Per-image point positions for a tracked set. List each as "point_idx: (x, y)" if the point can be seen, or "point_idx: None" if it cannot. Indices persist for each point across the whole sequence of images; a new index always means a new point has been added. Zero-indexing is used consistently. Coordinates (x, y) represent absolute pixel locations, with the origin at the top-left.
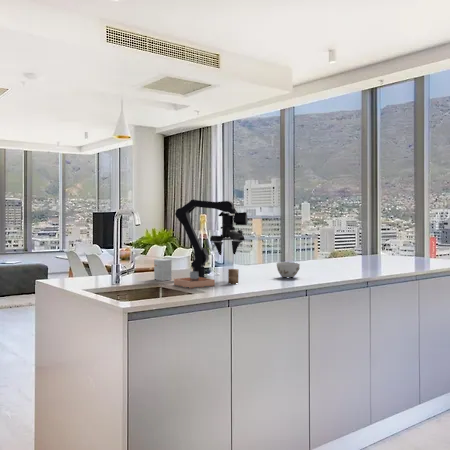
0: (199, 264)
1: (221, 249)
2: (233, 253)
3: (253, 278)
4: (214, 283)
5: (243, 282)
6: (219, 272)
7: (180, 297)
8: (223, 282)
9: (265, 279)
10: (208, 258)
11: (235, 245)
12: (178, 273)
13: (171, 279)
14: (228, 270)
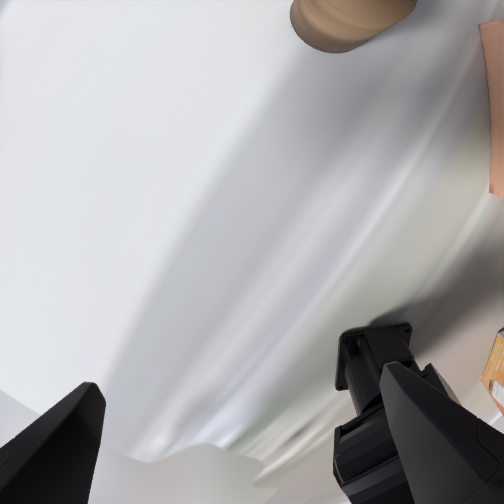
0: (442, 380)
1: (439, 422)
2: (101, 406)
3: (44, 197)
4: (488, 22)
5: (222, 25)
6: (146, 453)
7: None
8: (366, 101)
9: (7, 122)
10: (350, 453)
11: (25, 494)
12: (326, 475)
13: (499, 333)
14: (410, 8)
